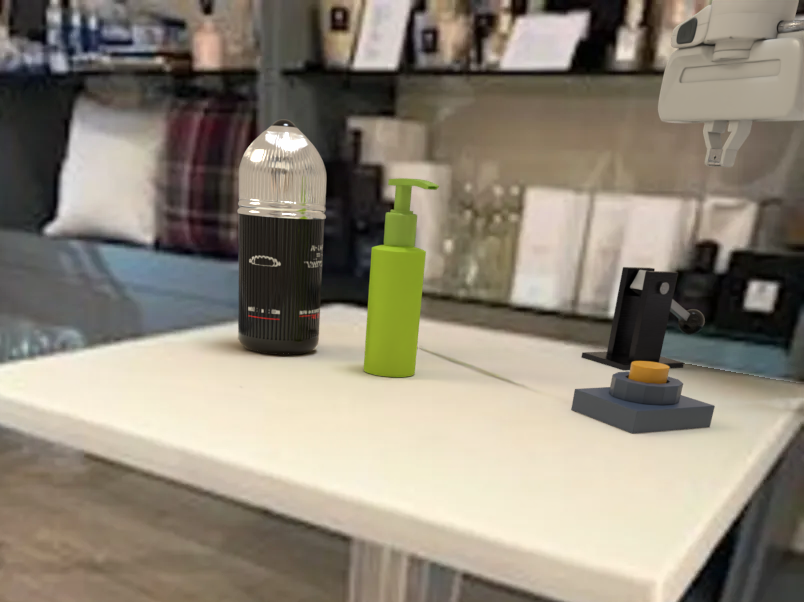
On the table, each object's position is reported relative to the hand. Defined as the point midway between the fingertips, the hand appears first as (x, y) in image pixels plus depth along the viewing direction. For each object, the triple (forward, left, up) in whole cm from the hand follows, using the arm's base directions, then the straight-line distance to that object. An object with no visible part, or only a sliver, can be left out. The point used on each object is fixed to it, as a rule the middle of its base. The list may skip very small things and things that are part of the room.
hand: (718, 166), depth 102 cm
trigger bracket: (+4, -3, -24) cm, 24 cm away
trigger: (0, -3, -17) cm, 18 cm away
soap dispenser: (+38, -5, -24) cm, 45 cm away
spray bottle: (+46, -20, -24) cm, 56 cm away
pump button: (+23, +19, -20) cm, 36 cm away
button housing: (+23, +19, -24) cm, 38 cm away
